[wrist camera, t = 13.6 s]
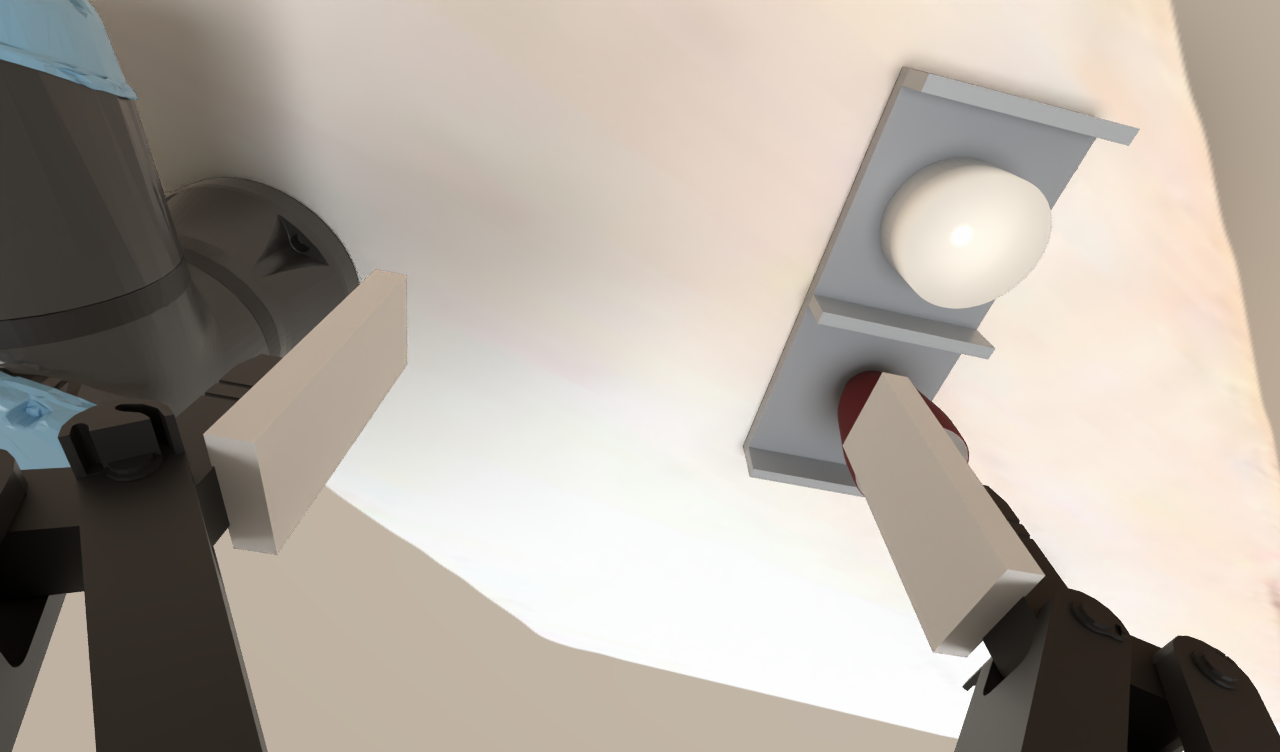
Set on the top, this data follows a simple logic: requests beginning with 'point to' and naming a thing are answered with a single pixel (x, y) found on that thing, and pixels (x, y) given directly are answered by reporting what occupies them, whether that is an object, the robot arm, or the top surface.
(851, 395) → the red cup
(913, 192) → the white egg shape
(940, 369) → the rack
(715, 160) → the top surface
